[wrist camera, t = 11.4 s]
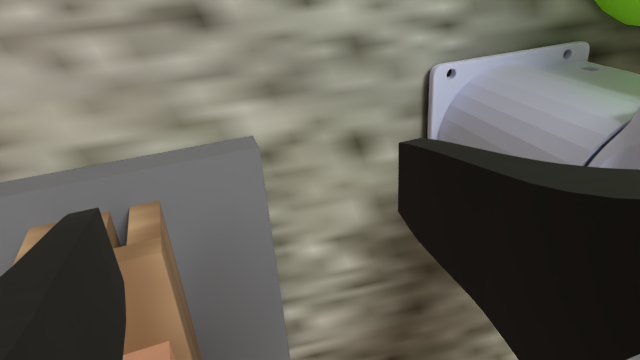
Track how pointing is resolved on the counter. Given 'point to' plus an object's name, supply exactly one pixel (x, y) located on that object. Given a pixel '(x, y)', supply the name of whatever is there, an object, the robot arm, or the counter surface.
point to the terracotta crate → (152, 353)
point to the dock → (180, 234)
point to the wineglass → (622, 10)
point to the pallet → (146, 282)
